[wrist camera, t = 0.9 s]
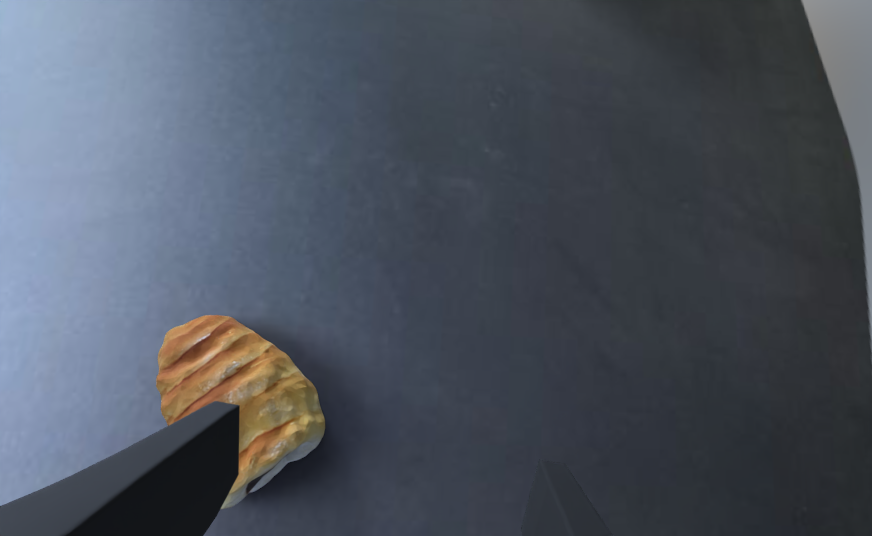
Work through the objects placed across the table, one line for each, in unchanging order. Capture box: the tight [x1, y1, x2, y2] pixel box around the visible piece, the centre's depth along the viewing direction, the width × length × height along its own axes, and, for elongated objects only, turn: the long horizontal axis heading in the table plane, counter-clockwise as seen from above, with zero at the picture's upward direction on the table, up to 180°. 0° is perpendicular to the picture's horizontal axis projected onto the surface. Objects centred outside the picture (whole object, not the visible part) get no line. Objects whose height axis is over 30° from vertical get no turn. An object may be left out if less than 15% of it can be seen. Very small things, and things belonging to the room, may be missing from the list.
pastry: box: [156, 315, 325, 509], centre depth 23 cm, size 9×7×4 cm
